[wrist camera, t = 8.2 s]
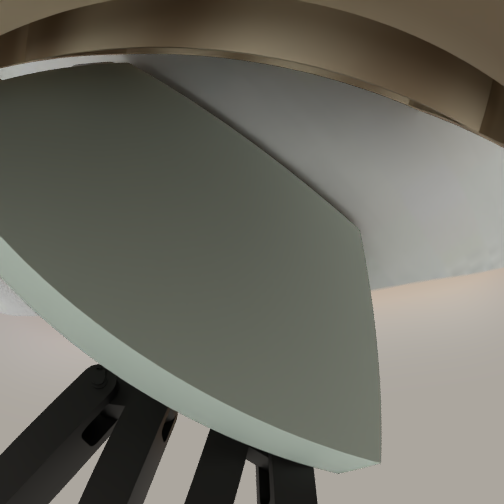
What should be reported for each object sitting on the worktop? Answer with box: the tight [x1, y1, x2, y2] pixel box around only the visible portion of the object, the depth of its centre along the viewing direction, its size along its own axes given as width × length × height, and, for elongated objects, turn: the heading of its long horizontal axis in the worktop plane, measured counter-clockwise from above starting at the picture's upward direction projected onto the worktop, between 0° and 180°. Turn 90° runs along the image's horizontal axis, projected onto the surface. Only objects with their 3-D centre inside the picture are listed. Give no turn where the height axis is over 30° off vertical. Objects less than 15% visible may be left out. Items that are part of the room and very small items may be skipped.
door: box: [0, 62, 381, 474], centre depth 11 cm, size 18×3×13 cm, turn 54°
